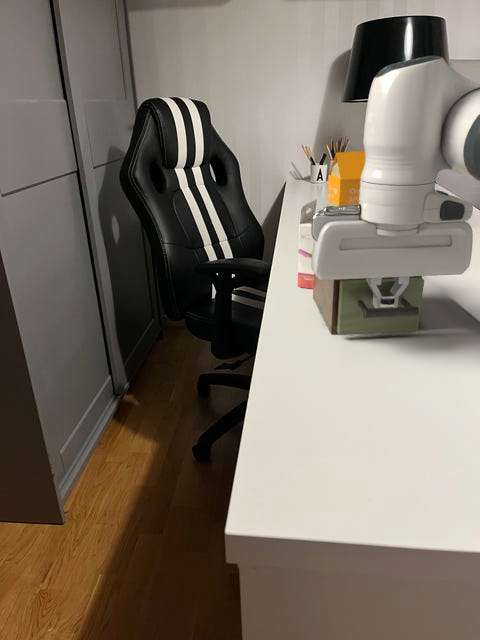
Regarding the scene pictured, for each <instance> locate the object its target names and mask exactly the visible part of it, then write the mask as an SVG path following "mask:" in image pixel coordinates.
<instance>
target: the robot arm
mask: <svg viewBox="0 0 480 640" xmlns="http://www.w3.org/2000/svg"><path fill="white" fill-rule="evenodd" d="M365 110H366V111H365V117H364V129H363V139H362V140H363V141H362V142H363V149H364V151H365V165H364V168H363V171H362V174H361V180H360V194H359V205H348V206H341V207H335V206H327V205H326V206H324V207H323V209H321V210H318V211H317V212H315V215H314V217H313V219H312V227H311V233H312V237H313V239H314V244H313V250H312V258H311V268H312V271H313V273H314V274H315V275H316V276H317V277H318V278H319V279H320V280H337V279H362V278H366V281H367V283H368V285H369V286H370V288H371V290H372V292H373V306H374V307H375V308H393V307H397V306H398V298H399V296H400V295H401V294H402V292H403V291H404V290H405V288H406V287H407V286H408V284H409V277H412V276H422V277H433V276H434V277H437V276H458V275H463V274H464V273H465V272H466V271H467V270H468V269H469V267H470V265H471V261H472V253H473V242H474V241H473V239H474V234H473V233H474V231H473V228H472V226H471V224H470V223H469V222H468V221H469V220H470V219H471V218H472V216H473V211H474V206H473V204H472V203H470V202H468V201H466V200H465V199H463V198H460V197H458V196H455V195H451V194H449V193H447V192H445V191H443V190H439V189H436V182H437V176H438V173H440V172H441V171H443V170H448V171H451V172H453V173H457V174H459V175H461V176H465V177H468V178H470V179H474V180H477V181H478V182H480V83H478V82H475V81H473V80H471V79H470V78H467V77H465V76H464V75H462V74H460V73H459V72H458V71H456V70H455V69H454V68H453V67H451V66H450V65H449V64H448V63H447V62H446V60H445V58H444V57H442V56H438V55H427V56H422V57H418V58H413V59H408V60H404V61H399V62H395V63H391V64H388V65H386V66H385V67H382V68H381V69H380V70H379V71H378V72H377V73H376V74H375V76H374V77H373V80H372V82H371V86H370V89H369V94H368V99H367V104H366V109H365ZM335 214H338V215H335ZM387 277H393V279H394V280H395V281H396V282H395V284H394V285H393V287H392V288H391V290H390V292H380V291H379V289H378V287H377V285H381V280H382V278H387Z"/></svg>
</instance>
